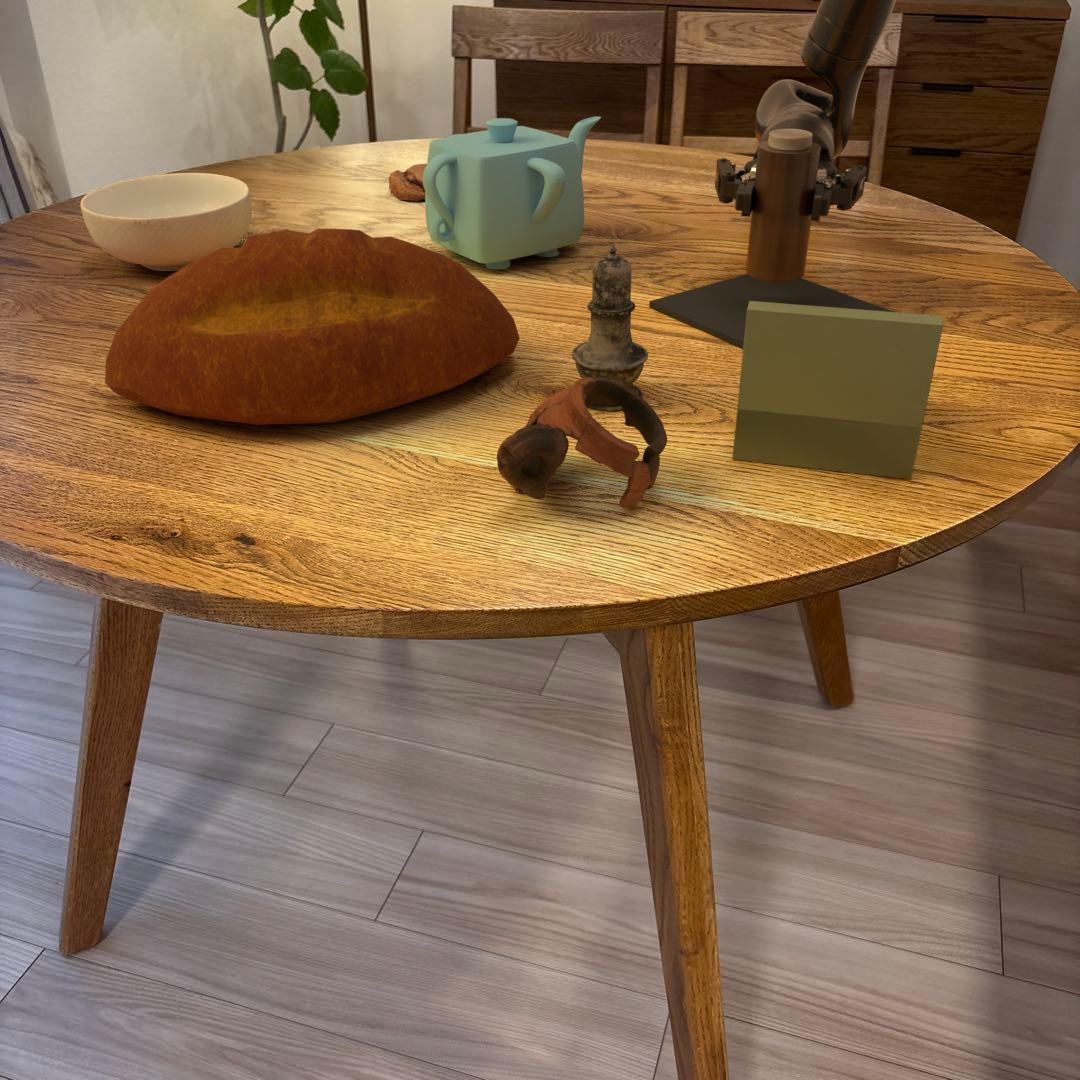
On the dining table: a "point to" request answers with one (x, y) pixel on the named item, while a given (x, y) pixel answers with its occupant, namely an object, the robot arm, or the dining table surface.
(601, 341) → the salt shaker
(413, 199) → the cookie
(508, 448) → the brown leather headphones
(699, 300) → the slate mat
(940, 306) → the dining table surface
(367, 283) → the bread
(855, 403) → the olive piece
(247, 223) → the cereal bowl
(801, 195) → the pepper mill
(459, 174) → the teapot
